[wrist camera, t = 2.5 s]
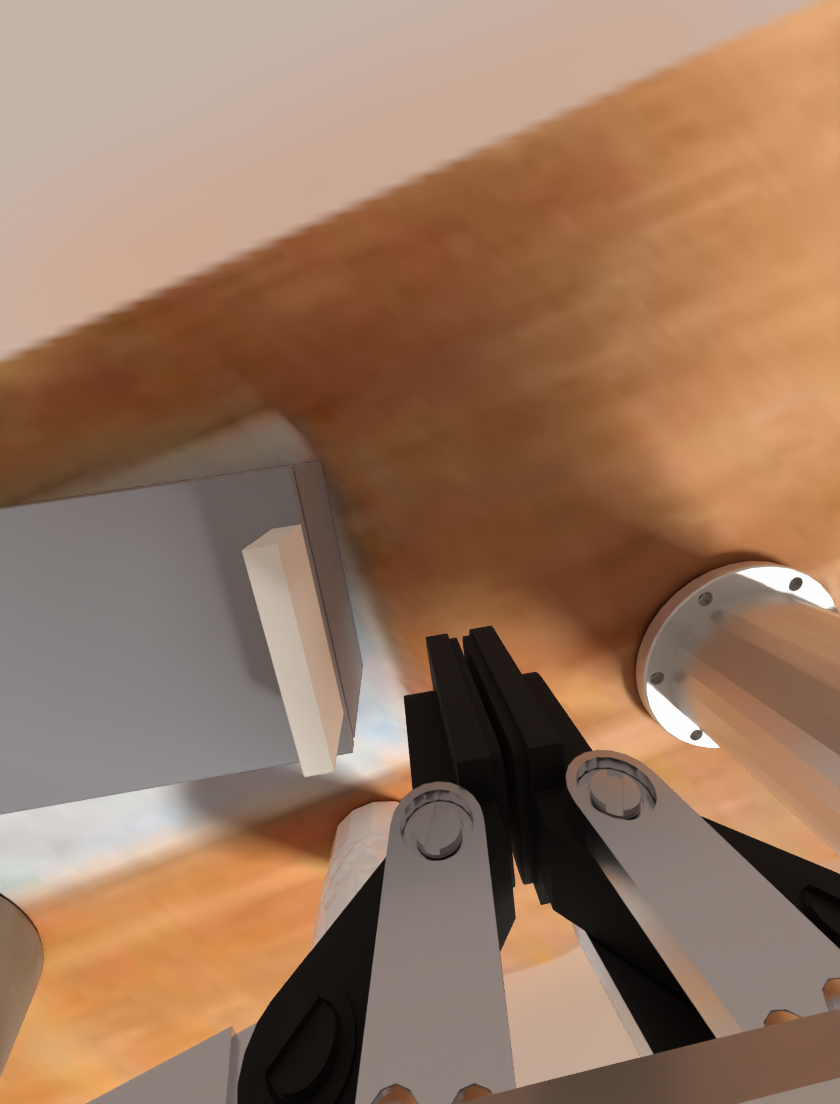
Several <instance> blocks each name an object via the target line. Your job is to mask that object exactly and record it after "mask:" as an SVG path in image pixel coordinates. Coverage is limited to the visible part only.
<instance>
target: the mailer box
mask: <svg viewBox="0 0 840 1104" xmlns="http://www.w3.org/2000/svg"><path fill="white" fill-rule="evenodd" d="M286 467H292V470H293V474H294V478H295V483H296V487H297V492H298V496H299V501H300V505H301V510H302V514H303V518H304V523H305V527H306V532H307V536H308V541H309V545H310V550H311V554H312V558H313V563H314V567H315V572H316V576H317V581H318V585H319V590H320V594H321V599H322V603H323V607H324V612H325V616H326V621H327V625H328V630H329V634H330V639H331V643H332V647H333V652H334V656H335V661H336V665H337V670H338V674H339V679H340V683H341V687H342V692H343V696H344V701H345V705H346V710H347V714H348V719H349V723H350V727H351V732H352V736H353V738H354V737H355V728H356V720H357V711H358V703H359V694H360V685H361V677H362V668H363V663H362V658H361V653H360V648H359V644H358V639H357V634H356V629H355V624H354V619H353V614H352V609H351V604H350V599H349V594H348V590H347V585H346V580H345V575H344V570H343V565H342V560H341V555H340V550H339V545H338V540H337V536H336V531H335V526H334V521H333V516H332V511H331V506H330V501H329V496H328V491H327V487H326V482H325V477H324V472H323V467H322V462H321V461H314V462H307V463H300V464H293V465H286V466H280V467H273V468H266V469H259V470H252V471H245V472H238V473H231V474H225V475H218V476H211V477H204V478H197V479H190V480H183V481H177V482H170V483H163V484H156V485H149V486H142V487H135V488H128V489H122V490H115V491H108V492H101V493H94V494H87V495H80V496H74V497H67V498H60V499H53V500H46V501H39V502H32V503H25V504H19V505H12V506H5V507H0V509H4V508H11V507H18V506H25V505H32V504H39V503H46V502H52V501H59V500H66V499H73V498H80V497H87V496H94V495H100V494H107V493H114V492H121V491H128V490H135V489H142V488H148V487H155V486H162V485H169V484H176V483H183V482H190V481H196V480H203V479H210V478H217V477H224V476H231V475H238V474H244V473H251V472H258V471H265V470H272V469H279V468H286Z"/></svg>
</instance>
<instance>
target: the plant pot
mask: <svg viewBox="0 0 840 1104" xmlns="http://www.w3.org/2000/svg"><path fill="white" fill-rule="evenodd" d="M43 961H44V956H43V948H42V944H41V940H40V938H39V935H38V933H37V931H36V929H35V928H34V926H33V925H32V923H31V922H30V921H29V920H28V918H27V917H26V916H25V915H24V914H23V913H22V912H21V911H20V910H19V909H18V908H17V907H15V906H14V905H13V904H12V903H10V902H9V901H7V900H6V899H4V898H3V897H1V896H0V1076H1V1074H2V1072H3V1069H4V1067H5V1064H6V1062H7V1060H8V1057H9V1055H10V1052H11V1050H12V1047H13V1045H14V1042H15V1040H16V1037H17V1035H18V1032H19V1030H20V1027H21V1025H22V1022H23V1020H24V1018H25V1015H26V1013H27V1010H28V1008H29V1005H30V1003H31V1000H32V998H33V995H34V993H35V990H36V988H37V985H38V982H39V979H40V976H41V973H42V969H43Z"/></svg>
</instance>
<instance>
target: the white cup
mask: <svg viewBox="0 0 840 1104" xmlns="http://www.w3.org/2000/svg"><path fill="white" fill-rule="evenodd" d="M398 804H399V802H397V801H382V802H371V803H369V804H367V805H364V806H362V807H359V808H357V809H354V810H352V811H351V812H350V813H349V814H348V815H347V816H346V817H345V818H344V819H343V820H342V822H341V823H340V824H339V825H338V827H337V830H336V834H335V838H334V841H333V845H332V851H331V856H330V862H329V867H328V871H327V873H326V875H325V879H324V883H323V889H322V895H321V899H320V902H319V907H318V911H317V916H316V922H315V927H314V932H313V937H312V943H311V948H310V952H311V950H312V949H313V948H314V947H315V945H316V944H317V943H318V942H319V940H320V939H321V938H322V937H323V935H324V934H325V933H326V931H327V930H328V929H329V928H330V926H331V925H332V924H333V923H334V921H335V920H336V919H337V918H338V916H339V915H340V914H341V913H342V911H343V910H344V909H345V908H346V906H347V905H348V904H349V903H350V901H351V900H352V899H353V897H354V896H355V895H356V894H357V892H358V891H359V890H360V889H361V887H362V886H363V885H364V884H365V882H366V881H367V880H368V879H369V877H370V876H371V875H372V874H373V872H374V871H375V870H376V869H377V867H378V866H379V865H380V864H381V862H382V861H383V860H384V858H385V857H386V854H387V846H388V838H389V830H390V824H391V820H392V817H393V813H394V811H395V809H396V807H397V806H398Z"/></svg>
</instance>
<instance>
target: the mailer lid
mask: <svg viewBox="0 0 840 1104" xmlns="http://www.w3.org/2000/svg"><path fill="white" fill-rule="evenodd" d="M353 746H354V741H353V736H352V732H351V727H350V723H349V719H348V714H347V710H346V705H345V701H344V696H343V692H342V687H341V683H340V679H339V674H338V670H337V665H336V661H335V656H334V652H333V647H332V643H331V639H330V634H329V630H328V625H327V621H326V616H325V612H324V607H323V603H322V599H321V594H320V590H319V585H318V581H317V576H316V572H315V567H314V563H313V558H312V554H311V550H310V545H309V541H308V536H307V532H306V527H305V523H304V518H303V514H302V510H301V505H300V501H299V496H298V492H297V487H296V483H295V478H294V474H293V470H292V467H286V468H279V469H272V470H265V471H258V472H251V473H244V474H238V475H231V476H224V477H217V478H210V479H203V480H196V481H190V482H183V483H176V484H169V485H162V486H155V487H148V488H142V489H135V490H128V491H121V492H114V493H107V494H100V495H94V496H87V497H80V498H73V499H66V500H59V501H52V502H46V503H39V504H32V505H25V506H18V507H11V508H4V509H0V815H1V814H6V813H12V812H18V811H24V810H29V809H35V808H41V807H46V806H52V805H58V804H63V803H69V802H75V801H81V800H86V799H92V798H98V797H103V796H109V795H115V794H120V793H126V792H132V791H138V790H143V789H149V788H155V787H160V786H166V785H172V784H177V783H183V782H189V781H195V780H200V779H206V778H212V777H217V776H223V775H229V774H234V773H240V772H246V771H252V770H257V769H263V768H269V767H274V766H280V765H286V764H291V763H297V762H300V764H301V767H302V771H303V775H304V777H309V776H315V775H320V774H326V773H332V772H334V768H335V762H336V756H337V755H343V754H348V753H353Z"/></svg>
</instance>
